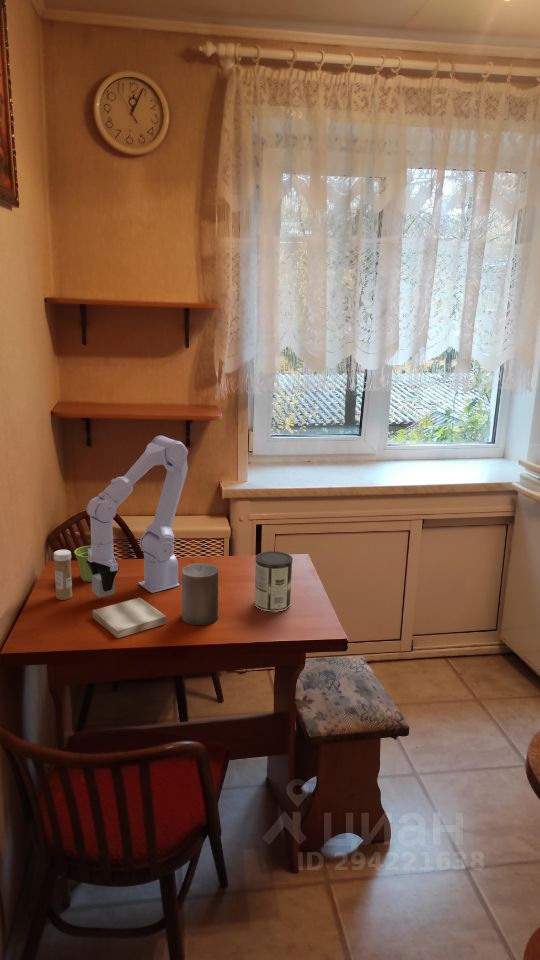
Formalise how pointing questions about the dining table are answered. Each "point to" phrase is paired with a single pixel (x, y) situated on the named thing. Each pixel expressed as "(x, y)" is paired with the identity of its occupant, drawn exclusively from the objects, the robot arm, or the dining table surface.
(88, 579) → the plant pot
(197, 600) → the pillar candle
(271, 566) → the coffee can
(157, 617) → the birch base
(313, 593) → the dining table surface
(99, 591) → the grey block
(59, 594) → the sprinkles bottle
